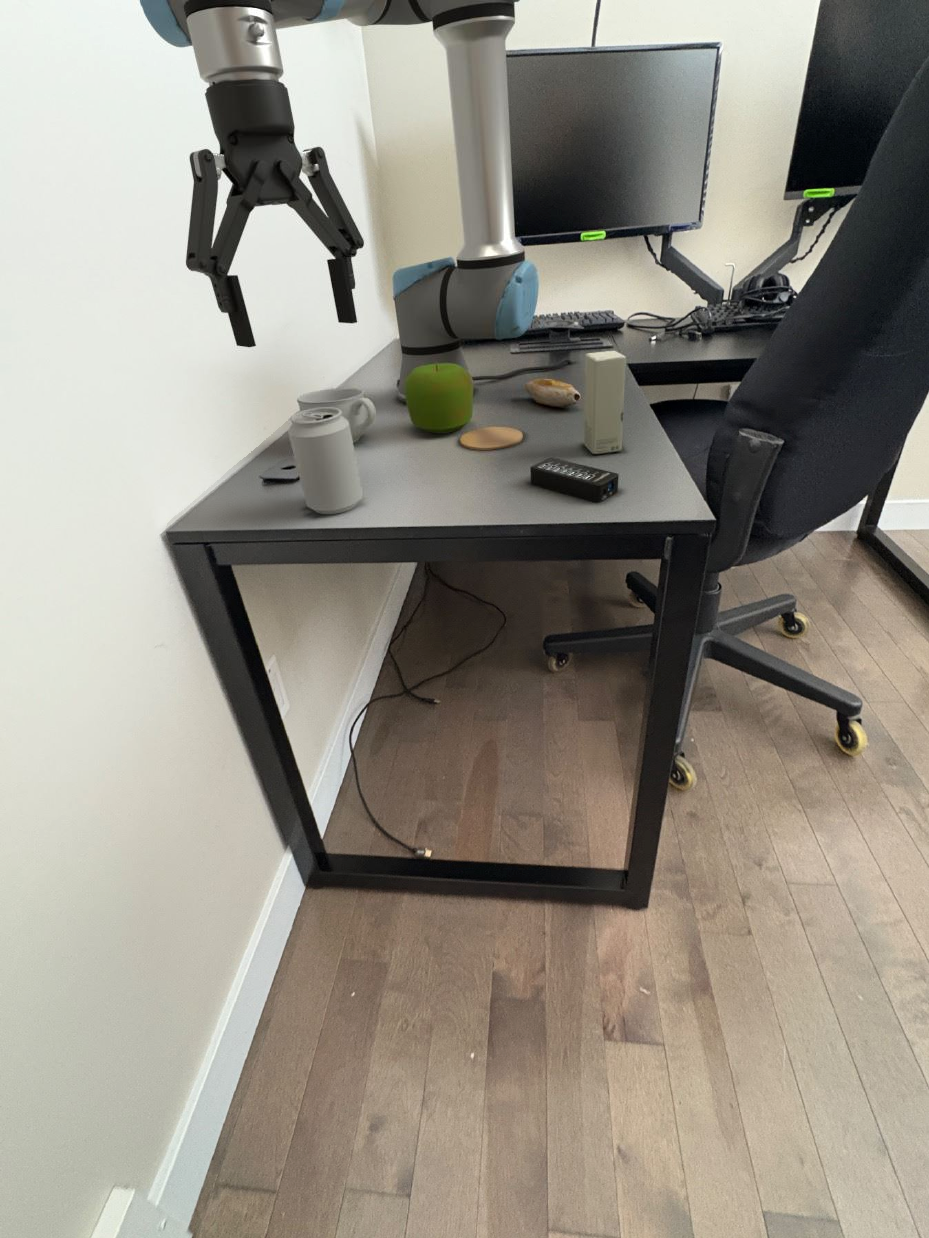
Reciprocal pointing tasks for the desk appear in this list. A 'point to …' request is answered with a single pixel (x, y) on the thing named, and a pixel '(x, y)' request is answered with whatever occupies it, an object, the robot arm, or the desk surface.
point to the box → (604, 401)
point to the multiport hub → (574, 479)
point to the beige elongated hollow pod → (552, 392)
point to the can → (325, 460)
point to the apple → (439, 397)
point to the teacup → (343, 407)
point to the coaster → (491, 438)
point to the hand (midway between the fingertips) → (300, 334)
